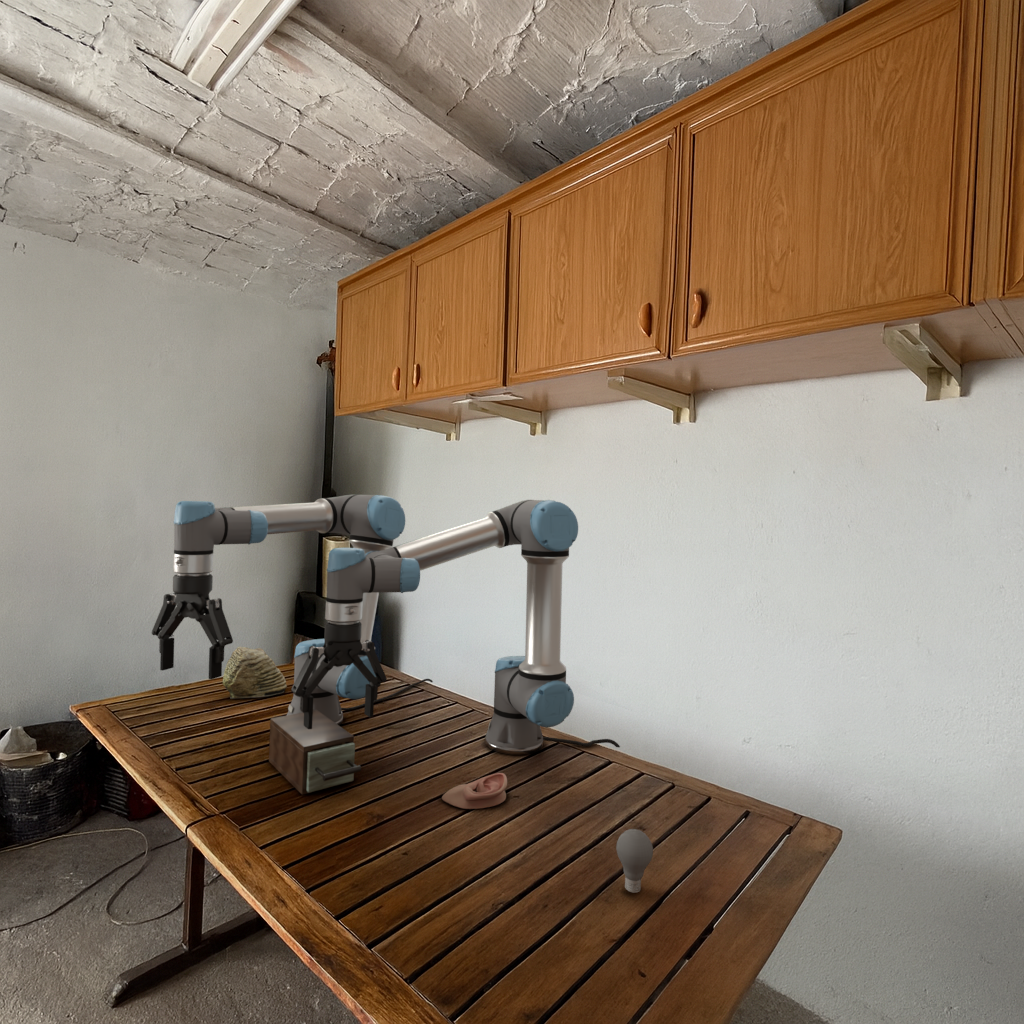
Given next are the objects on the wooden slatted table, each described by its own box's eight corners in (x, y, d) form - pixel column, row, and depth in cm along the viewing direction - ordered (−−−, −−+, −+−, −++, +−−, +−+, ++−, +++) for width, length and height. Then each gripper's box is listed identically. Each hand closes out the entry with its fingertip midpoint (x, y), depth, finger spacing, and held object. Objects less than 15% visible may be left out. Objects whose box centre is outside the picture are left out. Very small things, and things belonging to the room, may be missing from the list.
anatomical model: (437, 786, 132) (453, 764, 143) (436, 805, 132) (453, 781, 143) (499, 795, 129) (511, 771, 140) (499, 814, 129) (510, 789, 141)
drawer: (365, 790, 136) (366, 752, 135) (319, 803, 129) (320, 763, 129) (318, 751, 155) (319, 718, 154) (276, 761, 148) (277, 726, 148)
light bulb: (610, 879, 108) (613, 822, 108) (644, 879, 109) (647, 822, 109) (619, 902, 102) (622, 840, 102) (655, 901, 103) (658, 840, 103)
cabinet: (352, 781, 142) (354, 736, 141) (302, 794, 134) (303, 747, 134) (315, 750, 157) (316, 709, 157) (268, 761, 150) (270, 718, 150)
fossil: (218, 695, 195) (220, 647, 195) (278, 685, 208) (279, 640, 207) (228, 703, 189) (230, 653, 188) (289, 692, 201) (290, 645, 201)
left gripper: (134, 570, 135) (132, 669, 136) (224, 580, 126) (221, 686, 127) (165, 567, 142) (162, 661, 143) (252, 576, 133) (249, 676, 134)
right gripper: (291, 629, 123) (286, 738, 123) (404, 619, 139) (400, 715, 139) (277, 622, 129) (273, 726, 129) (388, 613, 144) (384, 706, 145)
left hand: (190, 673), depth 135 cm, fingers open, 13 cm apart
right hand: (339, 721), depth 134 cm, fingers open, 13 cm apart
